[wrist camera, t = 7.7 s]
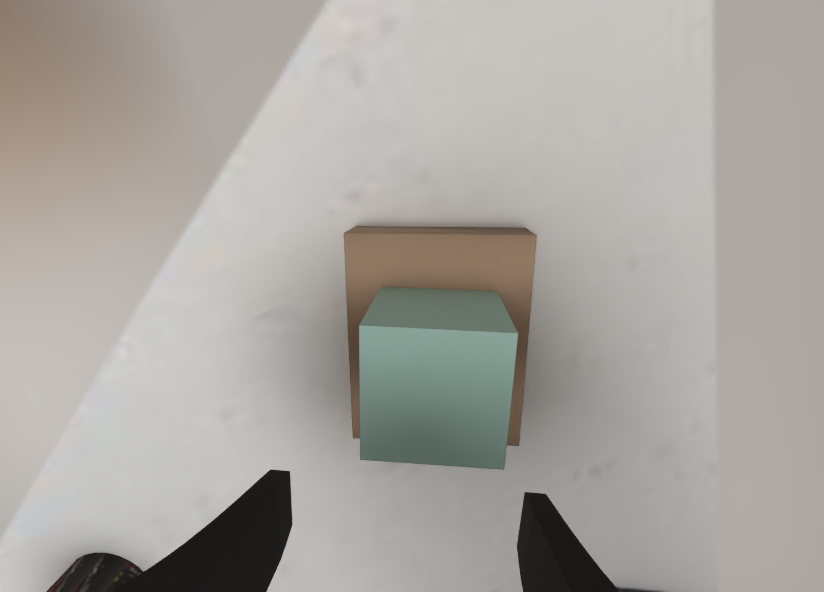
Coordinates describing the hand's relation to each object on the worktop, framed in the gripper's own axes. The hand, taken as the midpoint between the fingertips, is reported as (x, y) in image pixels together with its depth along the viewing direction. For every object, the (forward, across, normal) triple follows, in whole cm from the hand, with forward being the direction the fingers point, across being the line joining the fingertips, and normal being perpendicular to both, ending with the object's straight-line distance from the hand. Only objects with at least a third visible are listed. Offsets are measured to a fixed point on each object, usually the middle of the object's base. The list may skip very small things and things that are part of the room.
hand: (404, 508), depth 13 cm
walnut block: (+10, -1, -2) cm, 10 cm away
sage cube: (+7, -1, -3) cm, 8 cm away
